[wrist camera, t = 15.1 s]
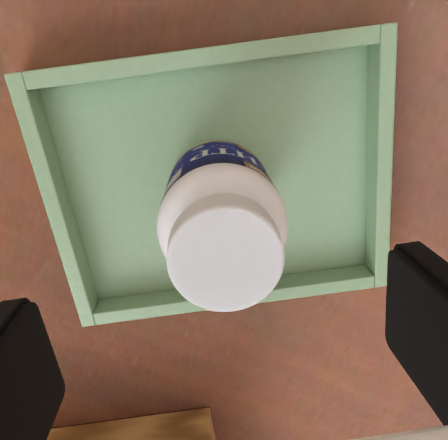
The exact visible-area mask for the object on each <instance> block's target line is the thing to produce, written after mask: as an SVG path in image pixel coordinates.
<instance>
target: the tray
mask: <svg viewBox="0 0 448 440" xmlns="http://www.w3.org/2000/svg"><path fill="white" fill-rule="evenodd" d="M397 32H398V23H397V22H392V23H384V24H377V25H369V26H362V27H354V28H346V29H339V30H331V31H324V32H316V33H309V34H301V35H293V36H286V37H278V38H271V39H263V40H256V41H248V42H241V43H233V44H225V45H218V46H210V47H203V48H195V49H188V50H180V51H173V52H165V53H157V54H150V55H142V56H135V57H127V58H120V59H112V60H105V61H97V62H89V63H82V64H74V65H67V66H59V67H52V68H44V69H36V70H29V71H23V72H14V73H6V74H4V77H5V80H6V84H7V87H8V90H9V93H10V97H11V100H12V103H13V106H14V109H15V113H16V116H17V119H18V122H19V125H20V129H21V132H22V135H23V138H24V142H25V145H26V148H27V151H28V154H29V158H30V161H31V164H32V167H33V171H34V174H35V177H36V180H37V183H38V187H39V190H40V193H41V196H42V199H43V203H44V206H45V209H46V212H47V216H48V219H49V222H50V225H51V228H52V232H53V235H54V238H55V241H56V244H57V248H58V251H59V254H60V257H61V261H62V264H63V267H64V270H65V273H66V277H67V280H68V283H69V286H70V290H71V293H72V296H73V299H74V302H75V306H76V309H77V312H78V315H79V318H80V322H81V325H82V327H85V326H93V325H100V324H108V323H115V322H122V321H130V320H137V319H145V318H152V317H160V316H167V315H175V314H182V313H190V312H197V311H205V310H207V309H204V308H201V307H198V306H196V305H194V304H192V303H191V302H189V301H188V300H187V299H185V298H184V297H183V296H182V295H181V294H180V293H179V292H178V290H177V289H176V288H175V286H174V285H173V283H172V281H171V279H170V277H169V274H168V270H167V263H166V257H165V256H164V254H163V252H162V250H161V247H160V244H159V240H158V236H157V218H158V212H159V208H160V204H161V201H162V198H163V195H164V192H165V189H166V186H167V183H168V180H169V178H170V175H171V172H172V170H173V168H174V166H175V164H176V162H177V161H178V159H179V158H180V157H181V156H182V155H183V154H184V153H185V152H186V151H187V150H189V149H190V148H192V147H193V146H195V145H197V144H199V143H202V142H205V141H209V140H228V141H233V142H236V143H238V144H240V145H242V146H244V147H246V148H247V149H249V150H250V151H251V152H252V153H253V154H254V155H255V156H256V157H257V158H258V159H259V160H260V162H261V164H262V165H263V167H264V169H265V170H266V172H267V174H268V175H269V177H270V179H271V180H272V182H273V184H274V186H275V187H276V189H277V191H278V192H279V194H280V196H281V198H282V200H283V203H284V205H285V209H286V212H287V218H288V234H287V239H286V243H285V246H284V251H285V263H284V268H283V272H282V275H281V278H280V280H279V281H278V283H277V285H276V286H275V288H274V289H273V290H272V291H271V292H270V293H269V294H268V295H267V296H266V297H265V298H264V299H263V300H261V301H260V302H258V303H264V302H272V301H279V300H287V299H294V298H301V297H309V296H316V295H324V294H331V293H339V292H346V291H354V290H361V289H369V288H374V287H382V286H387V262H388V253H389V247H390V220H391V193H392V166H393V140H394V113H395V86H396V59H397ZM256 304H257V303H256Z"/></svg>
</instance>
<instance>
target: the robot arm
mask: <svg viewBox="0 0 448 440" xmlns="http://www.w3.org/2000/svg"><path fill="white" fill-rule="evenodd" d="M385 336H386V341H387V344H388V346H389V348H390V349H391V351H392V352H393V354H394V355H395V357H396V358H397V359H398V361H399V362H400V364H401V365H402V367H403V368H404V369H405V371H406V372H407V374H408V375H409V377H410V378H411V379H412V381H413V382H414V384H415V385H416V386H417V388H418V389H419V391H420V392H421V394H422V395H423V396H424V398H425V399H426V401H427V402H428V404H429V405H430V406H431V408H432V409H433V411H434V412H435V413H436V415H437V416H438V418H439V419H440V421H441V422H442V423H443V425H444V426H437V427H430V428H423V429H416V430H409V431H402V432H396V433H389V434H382V435H376V436H369V437H362V438H355V439H349V440H448V262H446V261H445V260H444V259H442V258H441V257H440V256H438V255H437V254H436V253H434V252H433V251H432V250H430V249H429V248H428V247H427V246H425V245H424V244H423V243H421V242H419V241H416V242H409V243H402V244H396V245H395V247H394V250H391V251H389V253H388V262H387V294H386V326H385ZM64 393H65V384H64V380H63V377H62V374H61V371H60V369H59V366H58V363H57V360H56V357H55V354H54V351H53V348H52V346H51V343H50V340H49V337H48V334H47V331H46V328H45V325H44V323H43V320H42V317H41V314H40V311H39V308H38V306H37V304H36V303H34V302H30V301H29V300H28V299H27V298H21V299H14V300H7V301H2V302H1V303H0V440H47V437H48V435H49V432H50V430H51V427H52V425H53V422H54V420H55V417H56V415H57V412H58V410H59V407H60V405H61V402H62V400H63V397H64Z"/></svg>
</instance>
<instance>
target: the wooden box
mask: <svg viewBox="0 0 448 440" xmlns="http://www.w3.org/2000/svg"><path fill="white" fill-rule="evenodd" d="M47 440H216V438H215V432H214V427H213V421H212V416H211V410H210V408H201V409H194V410H187V411H179V412H172V413H164V414H157V415H150V416H142V417H135V418H127V419H120V420H112V421H105V422H98V423H90V424H83V425H75V426H68V427H61V428H53V429H51V430H50V432H49V435H48V437H47Z"/></svg>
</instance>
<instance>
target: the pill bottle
mask: <svg viewBox="0 0 448 440" xmlns="http://www.w3.org/2000/svg"><path fill="white" fill-rule="evenodd" d="M287 234H288V218H287V212H286V209H285V205H284V203H283V200H282V198H281V196H280V194H279V192H278V191H277V189H276V187H275V186H274V184H273V182H272V180H271V179H270V177H269V175H268V174H267V172H266V170H265V169H264V167H263V165H262V164H261V162H260V160H259V159H258V158H257V157H256V156H255V155H254V154H253V153H252V152H251V151H250V150H249V149H247V148H246V147H244V146H242V145H240V144H238V143H236V142H233V141H228V140H209V141H205V142H202V143H199V144H197V145H195V146H193V147H192V148H190V149H189V150H187V151H186V152H185V153H184V154H183V155H182V156H181V157H180V158H179V159H178V161H177V162H176V164H175V166H174V168H173V170H172V172H171V175H170V178H169V180H168V183H167V186H166V189H165V192H164V195H163V198H162V201H161V204H160V208H159V212H158V218H157V236H158V240H159V244H160V247H161V250H162V252H163V254H164V256H165V257H166V263H167V270H168V274H169V277H170V279H171V281H172V283H173V285H174V286H175V288H176V289H177V290H178V292H179V293H180V294H181V295H182V296H183V297H184V298H185V299H187V300H188V301H189V302H191V303H192V304H194V305H196V306H198V307H201V308H204V309H207V310H211V311H216V312H232V311H238V310H242V309H246V308H248V307H250V306H253V305H255V304H256V303H258V302H260V301H261V300H263V299H264V298H265V297H266V296H267V295H268V294H269V293H270V292H271V291H272V290H273V289H274V288H275V286H276V285H277V283H278V281H279V280H280V278H281V275H282V272H283V268H284V263H285V251H284V246H285V243H286V239H287Z"/></svg>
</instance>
